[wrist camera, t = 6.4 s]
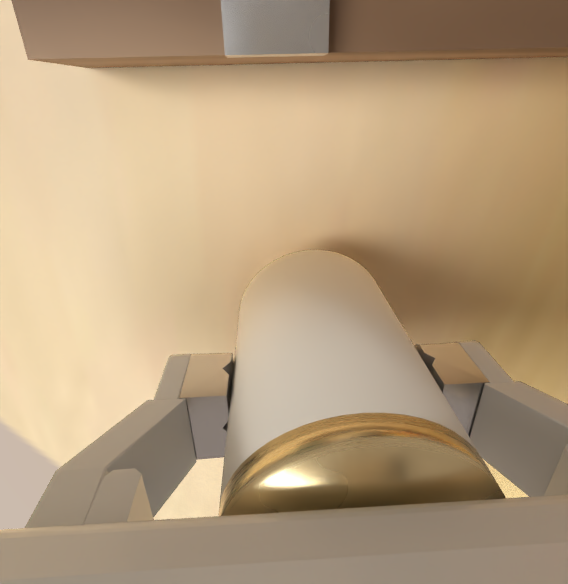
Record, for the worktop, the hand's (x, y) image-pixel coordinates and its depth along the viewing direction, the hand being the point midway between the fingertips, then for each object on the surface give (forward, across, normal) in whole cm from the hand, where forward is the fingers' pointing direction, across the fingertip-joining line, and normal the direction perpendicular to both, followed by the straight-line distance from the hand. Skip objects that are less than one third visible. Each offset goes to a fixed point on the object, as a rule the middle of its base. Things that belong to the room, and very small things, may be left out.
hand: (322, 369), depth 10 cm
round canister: (+3, 0, 0) cm, 3 cm away
